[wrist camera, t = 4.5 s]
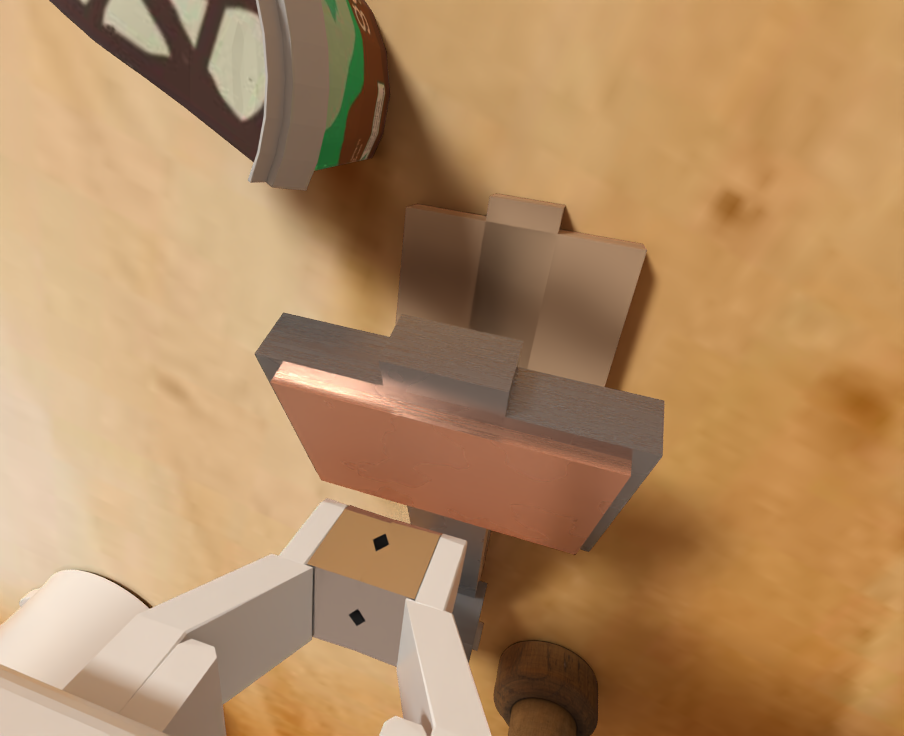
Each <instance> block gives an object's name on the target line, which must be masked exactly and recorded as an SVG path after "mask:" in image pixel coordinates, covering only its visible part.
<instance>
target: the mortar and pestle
mask: <svg viewBox="0 0 904 736" xmlns="http://www.w3.org/2000/svg"><path fill="white" fill-rule="evenodd" d="M494 702H495V706H496V708H497V710H498V712H499V713H500V715H501V716H502V717H503V718H504V720H505V721H506V723H507V724H508V726H509V732H508V736H590V735H591V734H592V733H593V732H594V730H595V728H596V726H597V721H598V685H597V681H596V678H595V675H594V673H593V671H592V670H591V668H590V667H589V666H588V664H587V663H586V662H585V661H584V660H583V659H581V658H580V657H579V656H577V655H576V654H574V653H573V652H571V651H569V650H568V649H566V648H564V647H561V646H559V645H555V644H552V643H548V642H541V641H524V642H519V643H516V644H513V645H512V646H510V647H508V648H507V649H506V650H505V651H504V653H503V654H502V656H501V658H500V661H499V666H498V672H497V678H496V683H495V688H494Z"/></svg>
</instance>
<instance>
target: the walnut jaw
mask: <svg viewBox="0 0 904 736" xmlns="http://www.w3.org/2000/svg"><path fill="white" fill-rule="evenodd" d="M564 208H565V205H562V204H556V203H550V202H544V201H538V200H532V199H526V198H520V197H515V196H509V195H503V194H497V193H496V194H493V195H491V196H490V197H489V204H488V210H487V216H483V215H477V214H472V213H466V212H461V211H455V210H449V209H444V208H438V207H433V206H427V205H421V204H415V205H411V206H407V207H406V214H405V225H404V236H403V248H402V259H401V270H400V281H399V292H398V304H397V315H396V324H397V322H398V320H399V318H400V316H401V314H404V315H409V316H413V317H418V318H422V319H427V320H431V321H436V322H440V323H445V324H449V325H454V326H458V327H463V328H467V329H472V330H476V331H481V332H485V333H490V334H494V335H499V336H503V337H508V338H512V339H517V340H521V341H523V345H522V350H521V356H520V361H519V367H520V368H525V369H529V370H533V371H538V372H542V373H546V374H551V375H555V376H559V377H564V378H568V379H572V380H577V381H581V382H585V383H590V384H594V385H598V386H602V387H605V384H606V381H607V377H608V374H609V371H610V368H611V365H612V361H613V358H614V355H615V352H616V348H617V345H618V342H619V339H620V336H621V332H622V329H623V326H624V323H625V320H626V316H627V313H628V310H629V307H630V303H631V300H632V297H633V294H634V291H635V287H636V284H637V281H638V278H639V274H640V271H641V268H642V265H643V262H644V258H645V255H646V252H647V249H646V248H645V246H644V245H643V244H640V243H635V242H629V241H623V240H618V239H612V238H607V237H601V236H595V235H590V234H584V233H578V232H573V231H567V230H562V229H560V226H561V222H562V217H563V213H564ZM490 534H491V530H489V531H488V537H487V542H486V548H485V553H484V559H483V564H482V569H483V565H484V560H485V556H486V551H487V547H488V543H489V538H490ZM481 573H482V570H481ZM480 578H481V574H480ZM480 578H479V582H478V586H477V590H476V594H475V598H472V597H469V596H466V595H463V594H460V593H457V595H456V600H455V604H454V608H453V612H452V614H453V616H454V619H455V622H456V625H457V628H458V631H459V635H460V638H461V641H462V644H463V647H464V650H465V654H466V657H467V660H468V663H469V659H470V655H471V651H472V649H473V650H476V651H477V650H478V646H479V642H480V637H481V633H482V629H483V624H484V623H482V622H479V617H480V613H481V609H482V605H483V600H484V596H485V592H486V588H487V584H488V583H485V582H482V581H480Z"/></svg>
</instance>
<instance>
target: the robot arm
mask: <svg viewBox="0 0 904 736" xmlns="http://www.w3.org/2000/svg"><path fill="white" fill-rule="evenodd" d="M466 549H467V541H466V540H463V539H460V538H456V537H453V536H449V535H446V534H442V533H439V532H436V531H432V530H429V529H425V528H422V527H418V526H415V525H412V524H408V523H405V522H401V521H398V520H393V519H390V518H387V517H384V516H381V515H378V514H375V513H372V512H369V511H366V510H363V509H360V508H357V507H354V506H351V505H350V506H349V505H346V504H343V503H340V502H337V501H334V500H331V499H328V498H327V499H325V500H324V501H322V502H320V504H319V505H318V506H317V507H316V509H315V510H314V511H313V512H312V514H311V515H310V516H309V518H308V519H307V520H306V521H305V523H304V524H303V525H302V527H301V528H300V529H299V530H298V532H297V533H296V534H295V535H294V537H293V538H292V539H291V541H290V542H289V543H288V544H287V546H286V547H285V548H284V550H283V551H282V552H281V553H280V555H279V556H278V555H274V554H270V555H268V556H265V557H263V558H261V559H259V560H257V561H254V562H252V563H250V564H248V565H245V566H243V567H241V568H239V569H237V570H234V571H232V572H230V573H228V574H226V575H223V576H221V577H219V578H217V579H214V580H212V581H210V582H208V583H206V584H203V585H201V586H199V587H197V588H195V589H192V590H190V591H188V592H186V593H184V594H181V595H179V596H177V597H175V598H172V599H170V600H168V601H166V602H164V603H161V604H159V605H157V606H155V607H153V608H150V609H149V608H148V607H147V606H146V605H145V604H144V603H143V602H141V601H140V600H139V599H138V598H136V597H135V596H134V595H132V594H131V593H129V592H128V591H126V590H125V589H123V588H122V587H120V586H118V585H117V584H115V583H113V582H111V581H109V580H107V579H105V578H103V577H100V576H98V575H95V574H92V573H89V572H85V571H80V570H62V571H59V572H56V573H54V574H53V575H52V576H51V577H50V578H49V579H48V580H47V581H46V582H45V584H44V585H43V586H42V587H41V588H38V589H34V590H31V591H30V592H29V593H27V594H26V595H25V596H24V597H23V598H22V599H21V600H20V602H19V604H20V608H19V609H18V610H17V611H16V612H15V613H14V614H13V615H12V616H10V617H9V618H8V619H7V620H6V621H5V622H4V623H3V624H2V625H1V626H0V736H226V728H225V720H224V712H223V704H224V703H226V702H227V701H229V700H230V699H231V698H233V697H234V696H235V695H237V694H238V693H240V692H241V691H242V690H244V689H245V688H246V687H248V686H249V685H250V684H252V683H253V682H255V681H256V680H257V679H259V678H260V677H261V676H263V675H264V674H266V673H267V672H268V671H270V670H271V669H272V668H274V667H275V666H277V665H278V664H279V663H281V662H282V661H283V660H285V659H286V658H287V657H289V656H290V655H292V654H293V653H294V652H296V651H297V650H298V649H300V648H301V647H303V646H304V645H305V644H307V643H308V642H309V641H311V640H312V637H315V638H318V639H321V640H324V641H327V642H330V643H333V644H336V645H339V646H342V647H346V648H349V649H352V650H355V651H357V652H360V653H362V654H365V655H367V656H370V657H373V658H375V659H378V660H380V661H383V662H385V663H388V664H390V665H393V666H395V667H397V669H396V670H397V677H398V684H399V691H400V698H401V705H402V712H403V718H400V717H397V716H394V717H392V718H391V719H389V720H387V721H385V722H384V724H383V727H382V730H381V732H380V735H379V736H491V733H490V729H489V726H488V723H487V720H486V717H485V714H484V710H483V707H482V704H481V701H480V698H479V695H478V692H477V688H476V685H475V682H474V679H473V676H472V673H471V669H470V666H469V663H468V660H467V657H466V654H465V650H464V647H463V644H462V641H461V638H460V635H459V631H458V628H457V625H456V622H455V619H454V616H453V614H452V612H453V608H454V604H455V600H456V595H457V591H458V587H459V583H460V578H461V573H462V568H463V563H464V559H465V554H466Z"/></svg>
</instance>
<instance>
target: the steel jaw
mask: <svg viewBox="0 0 904 736" xmlns="http://www.w3.org/2000/svg"><path fill="white" fill-rule="evenodd" d="M522 345H523V341H521V340H517V339H512V338H508V337H503V336H499V335H494V334H490V333H485V332H481V331H476V330H472V329H467V328H463V327H458V326H454V325H449V324H445V323H440V322H436V321H431V320H427V319H422V318H418V317H413V316H409V315H404V314H401V316H400V318H399V320H398V322H397V324H396V326H395V328H394V330H393V332H392V334H391V336H390V337H387V336H382V335H378V334H374V333H369V332H365V331H361V330H356V329H352V328H348V327H343V326H339V325H335V324H330V323H326V322H322V321H318V320H313V319H309V318H305V317H300V316H296V315H292V314H287V313H283V314H282V315H281V317H280V318H279V320H278V321H277V323H276V324H275V325H274V327H273V328H272V330H271V331H270V333H269V334H268V335H267V337H266V338H265V340H264V341H263V342H262V344H261V345H260V347H259V348H258V350H257V351H256V352H255V356H256V358H257V360H258V361H259V363H260V365H261V367H262V369H263V371H264V373H265V375H266V377H267V379H268V380H269V382H270V384H271V386H272V388H273V390H274V392H275V394H276V396H277V398H278V400H279V401H280V403H281V405H282V407H283V409H284V411H285V413H286V415H287V417H288V419H289V420H290V422H291V424H292V426H293V428H294V430H295V432H296V434H297V436H298V438H299V439H300V441H301V443H302V445H303V447H304V449H305V451H306V453H307V455H308V457H309V459H310V460H311V462H312V464H313V466H314V468H315V470H316V472H317V473H318V475H319V477H320V478H321V480H323V481H326V482H329V483H333V484H336V485H340V486H343V487H346V488H350V489H353V490H357V491H360V492H363V493H367V494H370V495H373V496H377V497H380V498H384V499H387V500H390V501H394V502H397V503H401V504H404V505H407V507H408V512H409V517H410V522H411V524H412V525H415V526H418V527H422V528H425V529H429V530H432V531H436V532H439V533H442V534H446V535H449V536H453V537H456V538H460V539H463V540H466V541H467V549H466V554H465V559H464V563H463V568H462V573H461V578H460V583H459V587H458V591H457V593H460V594H463V595H466V596H469V597H472V598H475V594H476V590H477V586H478V582H479V578H480V574H481V570H482V564H483V559H484V553H485V548H486V542H487V537H488V531H489V530H492V531H496V532H499V533H502V534H506V535H509V536H513V537H516V538H519V539H523V540H526V541H530V542H533V543H536V544H540V545H543V546H547V547H550V548H553V549H557V550H560V551H564V552H567V553H570V554H574V555H576V553H577V552H578V551H579V549H581V550H584V551H588V552H589V551H590V550H591V549H592V547H593V546H594V545H595V543H596V542H597V541H598V540H599V538H600V537H601V536H602V534H603V533H604V532H605V530H606V529H607V528H608V527H609V525H610V524H611V523H612V521H613V520H614V519H615V517H616V516H617V515H618V513H619V512H620V511H621V510H622V508H623V507H624V506H625V504H626V503H627V502H628V500H629V499H630V498H631V497H632V495H633V494H634V493H635V491H636V490H637V489H638V487H639V486H640V485H641V484H642V482H643V481H644V480H645V478H646V477H647V476H648V474H649V473H650V472H651V470H652V469H653V468H654V467H655V465H656V464H657V463H658V461H659V460H660V459H661V457H662V453H663V425H664V401H663V400H659V399H654V398H650V397H646V396H641V395H637V394H633V393H628V392H624V391H620V390H615V389H611V388H607V387H602V386H598V385H594V384H590V383H585V382H581V381H577V380H572V379H568V378H564V377H559V376H555V375H551V374H546V373H542V372H538V371H533V370H529V369H525V368H520V367H519V361H520V356H521V350H522Z"/></svg>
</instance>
